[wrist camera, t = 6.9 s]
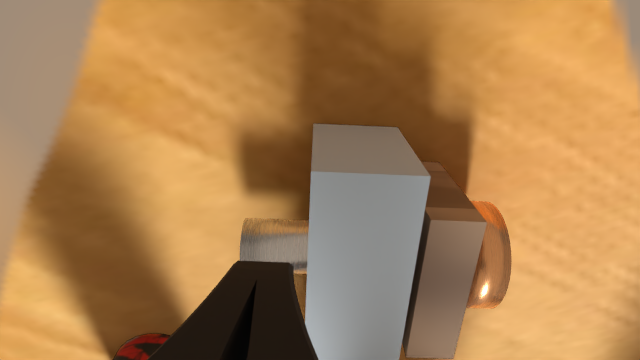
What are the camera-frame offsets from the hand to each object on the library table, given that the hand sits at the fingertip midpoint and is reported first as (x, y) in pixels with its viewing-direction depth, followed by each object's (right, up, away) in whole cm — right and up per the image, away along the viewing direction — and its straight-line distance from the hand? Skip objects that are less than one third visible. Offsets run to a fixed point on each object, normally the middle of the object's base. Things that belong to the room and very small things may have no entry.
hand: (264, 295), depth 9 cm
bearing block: (+3, +1, +11) cm, 11 cm away
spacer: (+6, +1, +11) cm, 13 cm away
